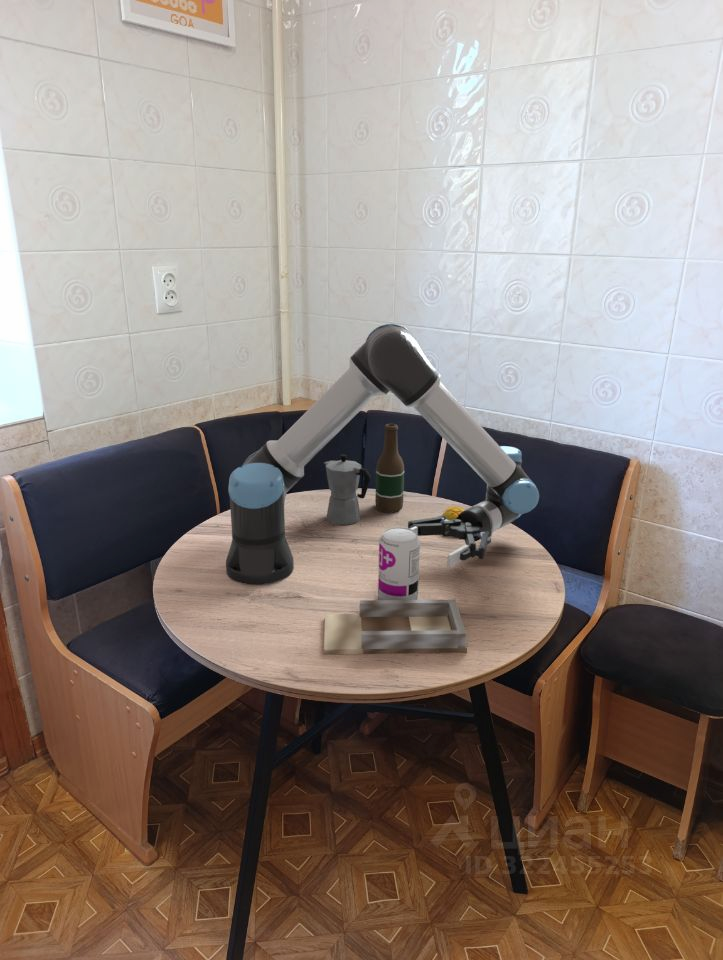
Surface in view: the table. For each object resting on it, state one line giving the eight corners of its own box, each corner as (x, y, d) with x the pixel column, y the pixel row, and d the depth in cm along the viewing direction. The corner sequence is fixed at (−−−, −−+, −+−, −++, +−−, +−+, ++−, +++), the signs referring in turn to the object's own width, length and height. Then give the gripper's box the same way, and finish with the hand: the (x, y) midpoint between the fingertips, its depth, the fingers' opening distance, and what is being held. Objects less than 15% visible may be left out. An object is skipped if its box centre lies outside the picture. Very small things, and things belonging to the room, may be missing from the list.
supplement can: (388, 613, 133) (390, 545, 128) (371, 594, 140) (372, 529, 135) (424, 605, 136) (427, 539, 131) (406, 586, 143) (408, 523, 138)
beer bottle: (408, 507, 185) (411, 424, 177) (390, 515, 180) (393, 430, 171) (387, 500, 190) (389, 419, 182) (369, 507, 185) (370, 424, 176)
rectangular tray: (324, 654, 119) (323, 635, 118) (325, 618, 131) (324, 600, 129) (467, 652, 120) (468, 633, 119) (455, 617, 132) (457, 599, 130)
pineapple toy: (468, 521, 176) (469, 503, 175) (467, 537, 167) (468, 517, 165) (442, 519, 177) (443, 501, 176) (440, 535, 168) (441, 515, 166)
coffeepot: (313, 517, 178) (312, 453, 172) (336, 507, 185) (336, 445, 179) (358, 532, 169) (358, 466, 163) (380, 521, 176) (381, 457, 170)
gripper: (524, 552, 148) (471, 586, 133) (434, 521, 163) (377, 548, 149) (527, 521, 145) (473, 553, 130) (436, 493, 161) (378, 518, 146)
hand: (422, 550), depth 140 cm, fingers open, 13 cm apart
